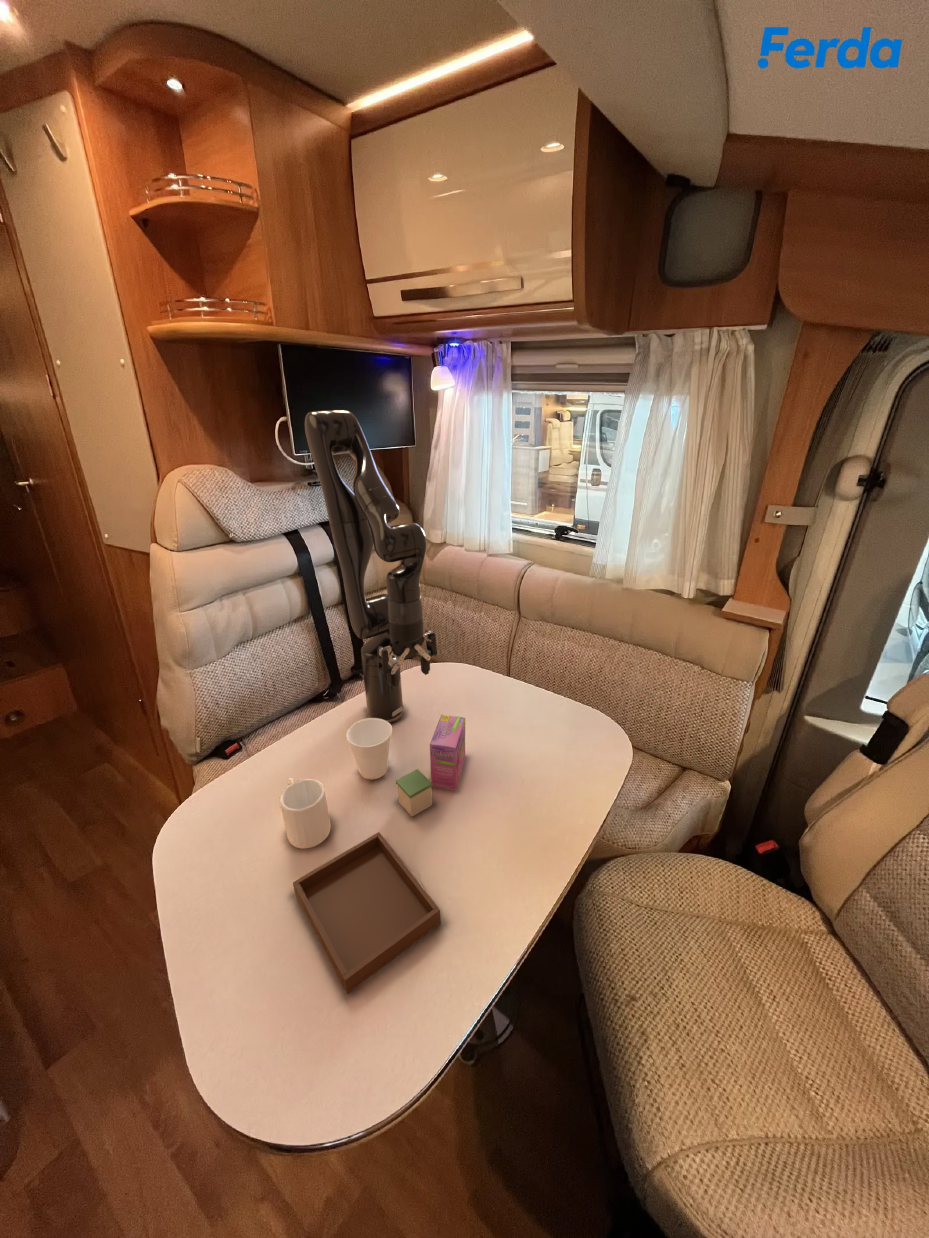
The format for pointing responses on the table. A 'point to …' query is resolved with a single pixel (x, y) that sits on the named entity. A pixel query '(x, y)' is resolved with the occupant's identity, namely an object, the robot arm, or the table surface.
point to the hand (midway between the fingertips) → (409, 679)
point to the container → (414, 792)
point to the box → (447, 752)
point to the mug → (305, 812)
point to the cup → (370, 746)
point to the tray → (365, 909)
